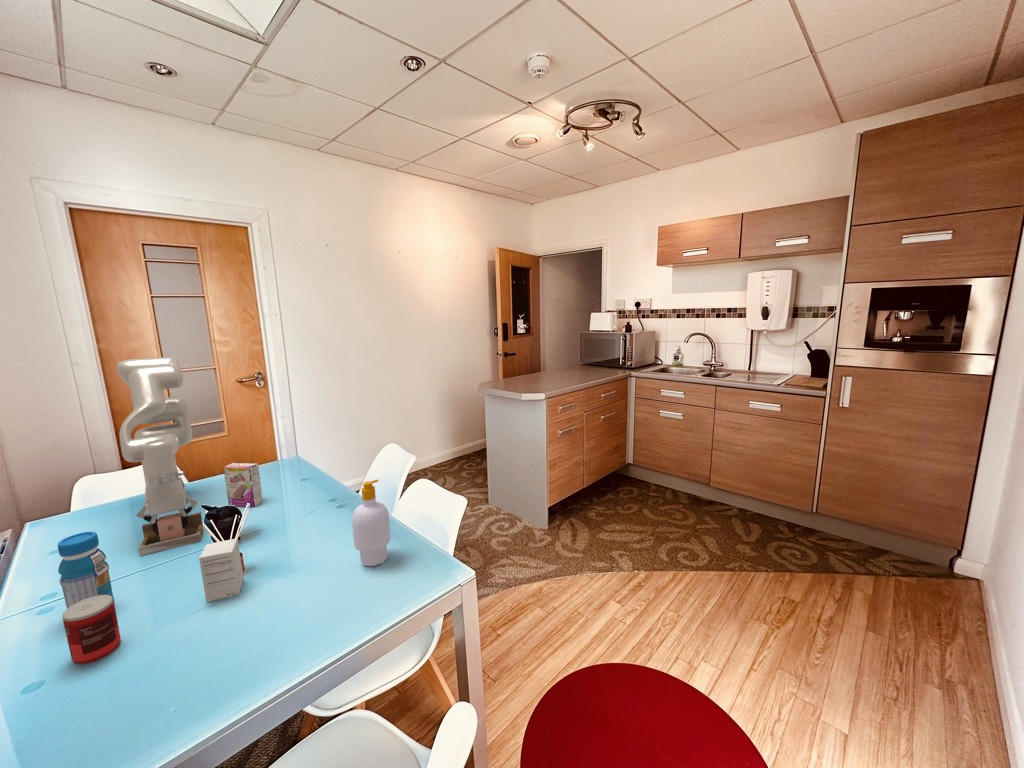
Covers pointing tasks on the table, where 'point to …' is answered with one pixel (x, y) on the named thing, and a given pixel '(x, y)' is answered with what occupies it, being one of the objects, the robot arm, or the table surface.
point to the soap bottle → (371, 527)
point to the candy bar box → (243, 484)
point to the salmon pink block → (170, 527)
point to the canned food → (91, 628)
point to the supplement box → (221, 569)
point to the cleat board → (151, 537)
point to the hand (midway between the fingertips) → (171, 529)
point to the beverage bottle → (83, 568)
